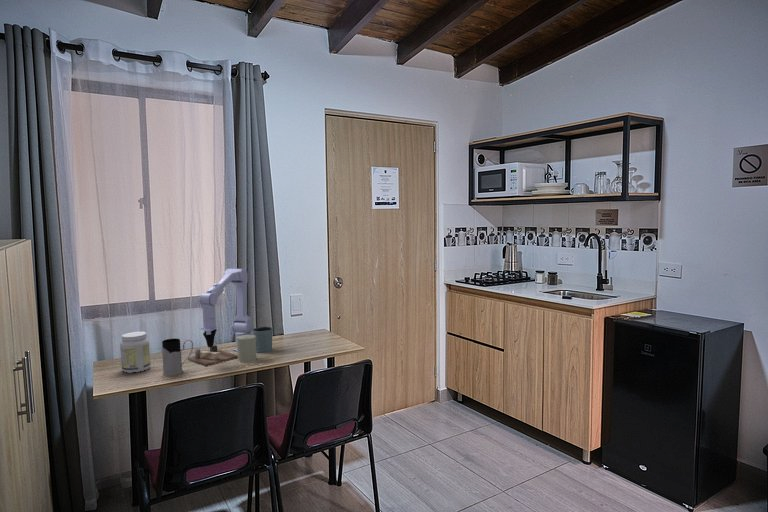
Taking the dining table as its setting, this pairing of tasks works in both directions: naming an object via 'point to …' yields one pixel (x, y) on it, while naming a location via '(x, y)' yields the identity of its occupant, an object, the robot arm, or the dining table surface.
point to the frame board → (222, 357)
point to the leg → (209, 355)
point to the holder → (172, 356)
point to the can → (246, 348)
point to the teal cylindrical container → (263, 339)
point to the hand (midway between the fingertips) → (210, 346)
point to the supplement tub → (135, 352)
